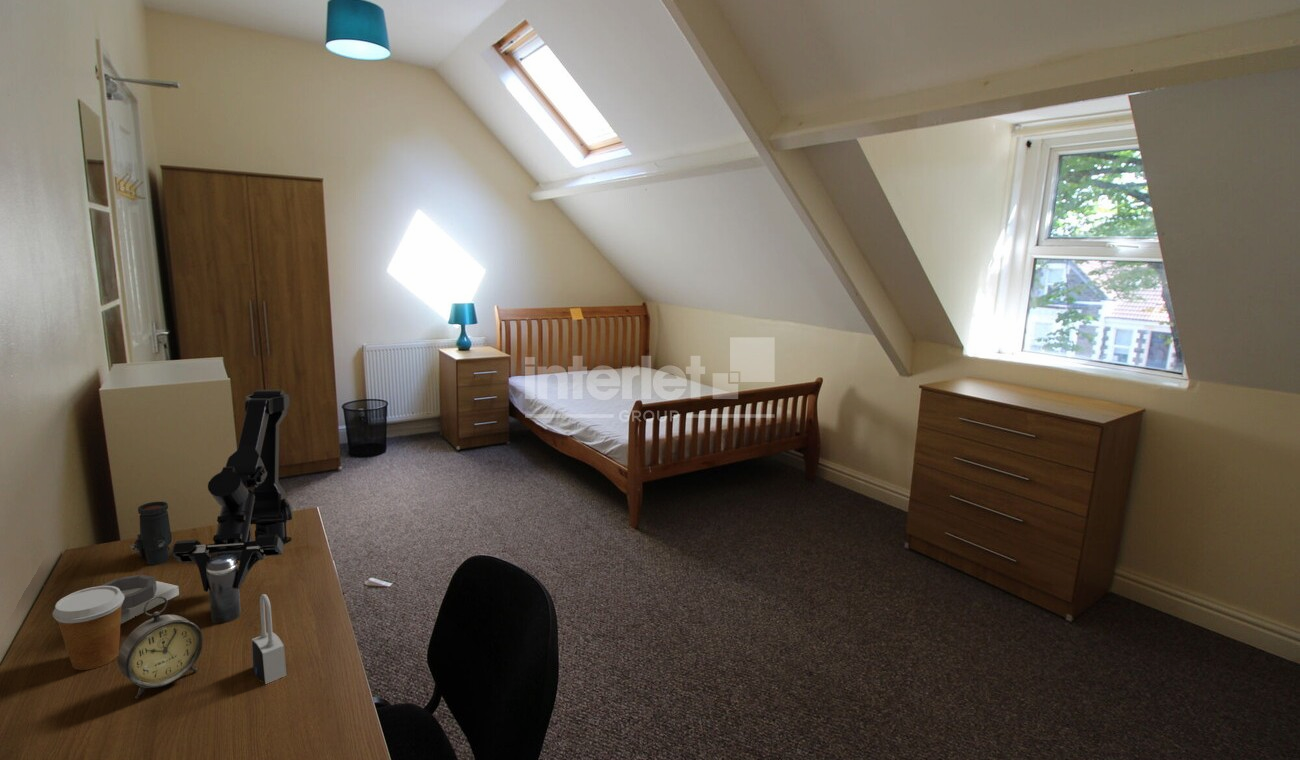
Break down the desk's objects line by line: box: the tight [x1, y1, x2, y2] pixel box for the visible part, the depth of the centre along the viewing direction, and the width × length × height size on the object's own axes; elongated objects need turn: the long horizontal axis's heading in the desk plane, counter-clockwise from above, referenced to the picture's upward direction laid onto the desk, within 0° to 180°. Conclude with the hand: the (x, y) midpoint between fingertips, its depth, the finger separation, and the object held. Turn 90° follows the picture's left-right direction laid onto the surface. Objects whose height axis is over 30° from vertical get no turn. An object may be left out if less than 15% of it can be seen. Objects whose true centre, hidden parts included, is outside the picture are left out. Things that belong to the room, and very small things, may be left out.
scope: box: [129, 501, 174, 566], centre depth 147 cm, size 8×14×10 cm
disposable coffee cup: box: [52, 585, 125, 671], centre depth 111 cm, size 10×10×12 cm
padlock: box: [251, 593, 287, 685], centre depth 110 cm, size 7×4×15 cm, turn 49°
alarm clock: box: [117, 596, 204, 700], centre depth 106 cm, size 11×5×16 cm, turn 148°
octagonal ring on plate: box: [100, 574, 180, 625], centre depth 128 cm, size 14×10×4 cm
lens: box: [207, 554, 242, 624], centre depth 126 cm, size 5×5×13 cm
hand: (221, 589), depth 125 cm, fingers open, 5 cm apart
